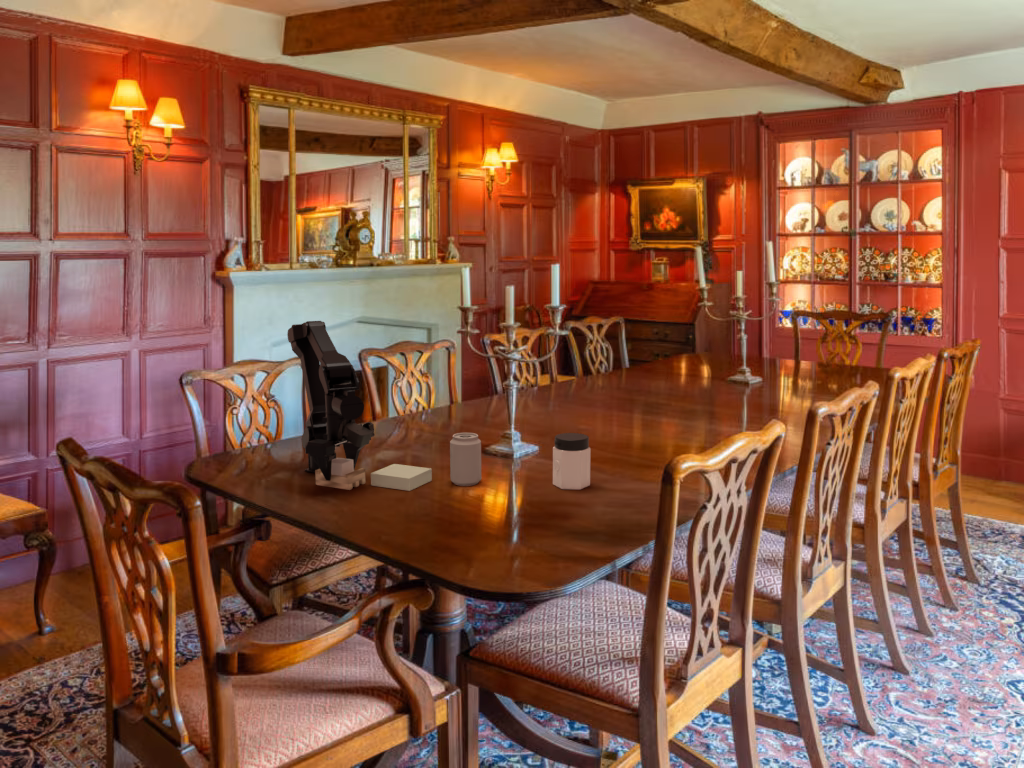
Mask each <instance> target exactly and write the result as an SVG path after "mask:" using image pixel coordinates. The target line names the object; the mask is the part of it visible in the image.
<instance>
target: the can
mask: <svg viewBox="0 0 1024 768" xmlns="http://www.w3.org/2000/svg"><path fill="white" fill-rule="evenodd" d="M449 456H450V457H449V459H450V460H449V461H450V464H449V465H450V467H449V469H450V470H449V471H450V473H449V474H450V481H451V482H452V483H453V484H454V485H457V486H459V487H460V486H461V487H469V486H470V487H472V486H475V485H477V484H478V483H480V482H481V480H482V441H481V439H480V438H479V435H478V434H477V433H474V432H457V433H454V434H453V435H452V439H451V440H450V441H449Z"/></svg>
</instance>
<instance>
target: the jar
mask: <svg viewBox="0 0 1024 768" xmlns="http://www.w3.org/2000/svg"><path fill="white" fill-rule="evenodd" d="M553 443H554V446H553V447H552V485H553V486H556V487H557V488H559V489H561V490H576V491H577V490H579V491H580V490H583V489H584V488H587V487H590V486H591V446H589V445H590V444H589V443H590V437H589V435H587V434H584V433H579V432H564V433H558V434H556V435H555V436H554V441H553Z"/></svg>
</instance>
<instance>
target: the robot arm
mask: <svg viewBox="0 0 1024 768" xmlns="http://www.w3.org/2000/svg"><path fill="white" fill-rule="evenodd" d="M286 335H287V339H288V340H287V341H288V342H289V343H290V346H291V350H292V353H294V354H295V355H296V356H297V357H298V359H299V360H300V365H301V366H300V367H301V370H302V376H303V381H304V387H305V391H306V392H305V393H306V398H307V403H308V409H309V413H308V416H307V418H306V420H305V428H304V430H303V433H302V436H301V444H302V448H303V449H304V450H305V451H304V454H307V461H308V468H305V469H304V472H307V473H314V474H315V470H317V469H320V470H321V472H322V474H323V475H324V477H325V479H326V480H327V481H330V480H331V466H332V460H333V459H335V458H337V453H336V447H337V448H338V447H340V446H341V445H342V446H343V447H342V448H343V450H344V455H345V459H353V462H354V470H355V469H356V466H357V462H358V459H359V456H360V453H361V450H362V449H363V448H364V447H365V446H366V445H369V444H370V441H372V438H373V437H375V425H374V423H373V422H371V421H367V422H364V423H363V424H362V423H360V424H358V423H356V420H357V419H358V418H360V417H361V416H362V415H363V413H364V410H365V404H364V402H363V400H362V399H361V397H359V396H357V395H356V391H358V390H360V387H359V385H360V381H359V378H358V376H357V373H356V370H355V368H354V366H353V364H352V363H351V362H350V360H349V359H348V357H346V355H344V354H341V353H340V352H338V351H337V349H336V346H335V345H334V343H333V341H332V339H331V336H330V335H329V333H328V331H327V326H326V323H325V322H324V321H322V320H308V321H305V322H303V323H300V324H298V323H297V324H296V323H295V324H292V325H291V327H290V328H288V330H287V334H286Z"/></svg>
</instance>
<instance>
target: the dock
mask: <svg viewBox="0 0 1024 768" xmlns="http://www.w3.org/2000/svg"><path fill="white" fill-rule="evenodd" d="M432 471H433V470H432V468H431V467H421V466H413V465H405V464H400V463H399V464H398V463H393V464H390V465H388V466H385V467H383V468H381V469H377V470H375V471H373V472H370V486H373V487H380V488H385V489H386V488H387V489H395V490H402V491H407V492H410V491H412V490H415V489H416V488H419V487H421V486H422V485H425V484H427V483H430V482H432V480H433V472H432Z"/></svg>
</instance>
